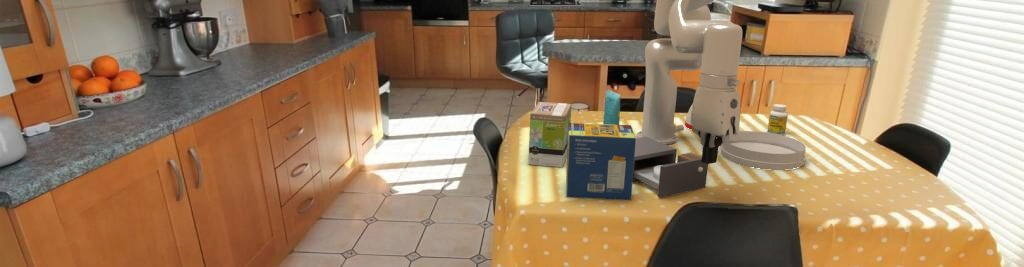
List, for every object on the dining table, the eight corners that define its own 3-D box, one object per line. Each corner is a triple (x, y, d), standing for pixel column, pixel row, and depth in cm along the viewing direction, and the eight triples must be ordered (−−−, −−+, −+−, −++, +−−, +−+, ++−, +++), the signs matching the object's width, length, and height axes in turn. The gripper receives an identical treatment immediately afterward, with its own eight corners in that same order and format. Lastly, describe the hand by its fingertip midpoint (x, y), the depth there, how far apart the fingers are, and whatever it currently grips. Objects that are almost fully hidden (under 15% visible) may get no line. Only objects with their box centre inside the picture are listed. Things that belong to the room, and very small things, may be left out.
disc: (688, 179, 136) (689, 171, 135) (667, 184, 132) (668, 176, 132) (667, 170, 141) (668, 163, 141) (647, 175, 138) (647, 167, 138)
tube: (623, 161, 155) (628, 94, 149) (609, 163, 153) (613, 95, 147) (608, 153, 161) (612, 88, 155) (594, 155, 159) (597, 90, 153)
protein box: (565, 181, 139) (568, 122, 135) (627, 184, 138) (632, 124, 134) (565, 197, 129) (568, 134, 125) (631, 201, 128) (637, 137, 124)
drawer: (627, 181, 139) (629, 152, 137) (670, 172, 146) (673, 144, 144) (662, 198, 129) (665, 167, 127) (707, 188, 135) (710, 158, 133)
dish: (813, 158, 160) (816, 141, 158) (789, 177, 144) (792, 159, 143) (737, 142, 174) (739, 126, 173) (707, 158, 158) (709, 141, 157)
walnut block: (689, 169, 148) (691, 152, 147) (703, 175, 144) (706, 157, 143) (675, 172, 146) (677, 155, 144) (689, 179, 142) (691, 160, 140)
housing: (600, 168, 148) (602, 144, 146) (643, 160, 155) (645, 136, 153) (629, 183, 138) (631, 157, 136) (674, 174, 145) (677, 148, 143)
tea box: (564, 168, 149) (566, 115, 144) (527, 165, 151) (528, 112, 146) (569, 151, 163) (571, 102, 159) (536, 148, 165) (537, 100, 160)
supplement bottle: (785, 133, 183) (790, 105, 180) (783, 137, 179) (788, 108, 176) (768, 130, 186) (772, 102, 183) (765, 134, 181) (770, 106, 179)
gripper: (759, 86, 114) (748, 169, 119) (703, 75, 127) (695, 151, 132) (734, 89, 111) (723, 175, 116) (679, 77, 124) (672, 155, 129)
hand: (708, 162), depth 124 cm, fingers closed
